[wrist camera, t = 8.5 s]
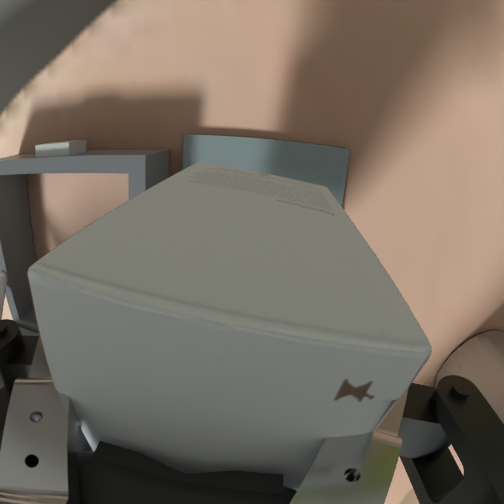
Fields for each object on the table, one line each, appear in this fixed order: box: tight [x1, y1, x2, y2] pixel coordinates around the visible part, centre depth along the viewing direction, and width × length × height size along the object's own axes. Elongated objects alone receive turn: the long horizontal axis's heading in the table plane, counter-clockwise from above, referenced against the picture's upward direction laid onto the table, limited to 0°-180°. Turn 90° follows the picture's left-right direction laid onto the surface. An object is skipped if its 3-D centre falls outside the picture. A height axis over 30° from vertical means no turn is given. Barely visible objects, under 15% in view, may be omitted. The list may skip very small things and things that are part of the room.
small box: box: [27, 162, 432, 490], centre depth 10 cm, size 8×6×10 cm
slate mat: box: [182, 134, 350, 207], centre depth 20 cm, size 10×10×1 cm
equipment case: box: [0, 140, 170, 451], centre depth 16 cm, size 14×22×16 cm, turn 176°
